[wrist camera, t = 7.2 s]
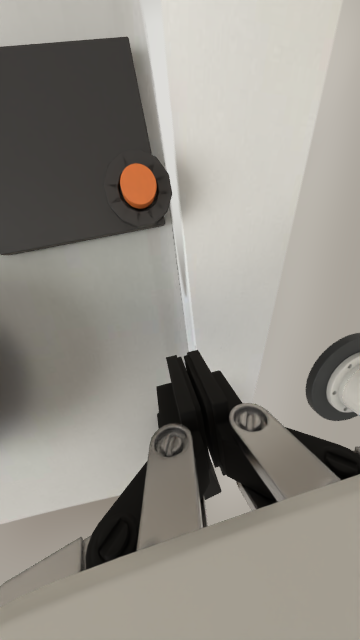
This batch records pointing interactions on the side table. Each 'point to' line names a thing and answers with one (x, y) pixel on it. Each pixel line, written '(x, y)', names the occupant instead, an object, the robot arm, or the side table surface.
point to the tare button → (138, 185)
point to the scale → (71, 144)
